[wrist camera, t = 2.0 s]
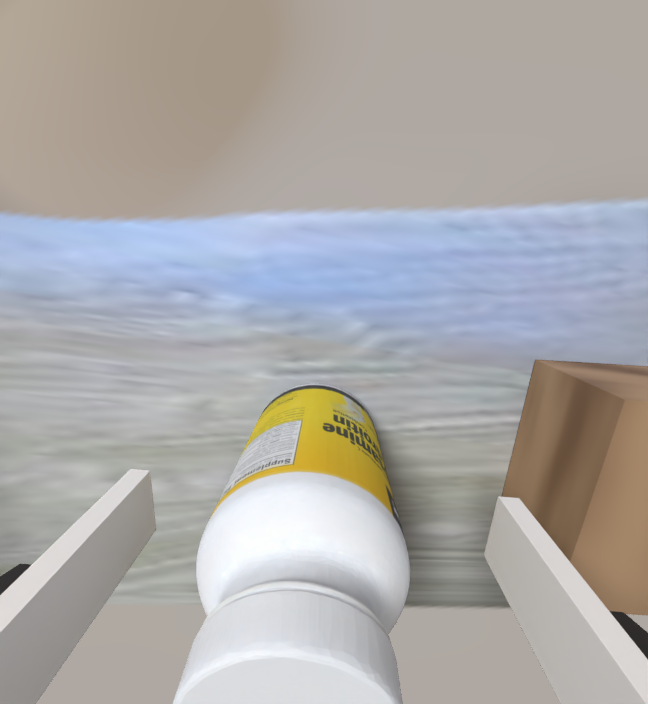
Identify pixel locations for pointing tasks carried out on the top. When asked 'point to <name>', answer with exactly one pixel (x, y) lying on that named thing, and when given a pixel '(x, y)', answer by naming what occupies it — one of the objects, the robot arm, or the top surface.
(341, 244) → the top surface
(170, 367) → the top surface
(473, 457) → the top surface
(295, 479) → the pill bottle
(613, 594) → the walnut block
